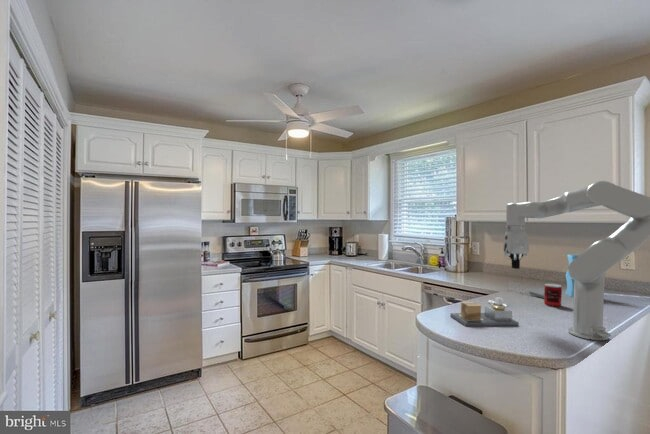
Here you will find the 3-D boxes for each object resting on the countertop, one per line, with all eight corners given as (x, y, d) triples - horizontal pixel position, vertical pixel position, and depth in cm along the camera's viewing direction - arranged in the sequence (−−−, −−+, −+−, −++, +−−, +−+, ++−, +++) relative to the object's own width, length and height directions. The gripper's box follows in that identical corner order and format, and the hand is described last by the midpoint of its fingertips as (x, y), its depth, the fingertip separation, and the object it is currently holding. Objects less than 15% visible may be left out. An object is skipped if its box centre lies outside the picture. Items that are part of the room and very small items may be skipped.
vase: (571, 297, 199) (572, 256, 199) (565, 294, 208) (566, 254, 208) (590, 299, 196) (591, 257, 196) (583, 295, 205) (584, 255, 205)
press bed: (518, 325, 144) (518, 313, 144) (465, 326, 142) (465, 313, 142) (498, 316, 158) (499, 304, 158) (450, 316, 156) (450, 304, 156)
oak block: (480, 319, 147) (480, 305, 147) (467, 319, 146) (467, 305, 146) (473, 315, 153) (473, 302, 153) (461, 315, 152) (461, 302, 152)
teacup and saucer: (485, 303, 182) (485, 296, 182) (496, 302, 185) (496, 295, 185) (499, 308, 174) (499, 300, 174) (510, 306, 177) (510, 299, 177)
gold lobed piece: (506, 318, 148) (507, 308, 148) (495, 318, 148) (496, 308, 148) (499, 315, 153) (500, 305, 153) (489, 315, 153) (489, 305, 153)
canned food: (554, 303, 184) (554, 283, 184) (565, 307, 177) (565, 286, 176) (540, 303, 184) (541, 283, 184) (550, 307, 176) (551, 286, 176)
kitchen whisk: (554, 302, 187) (555, 291, 187) (503, 290, 217) (503, 281, 217) (561, 302, 189) (561, 291, 189) (509, 290, 219) (509, 280, 219)
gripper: (506, 229, 150) (506, 269, 150) (536, 229, 152) (536, 269, 152) (495, 228, 158) (495, 267, 157) (524, 229, 160) (524, 267, 160)
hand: (515, 268), depth 155 cm, fingers closed
